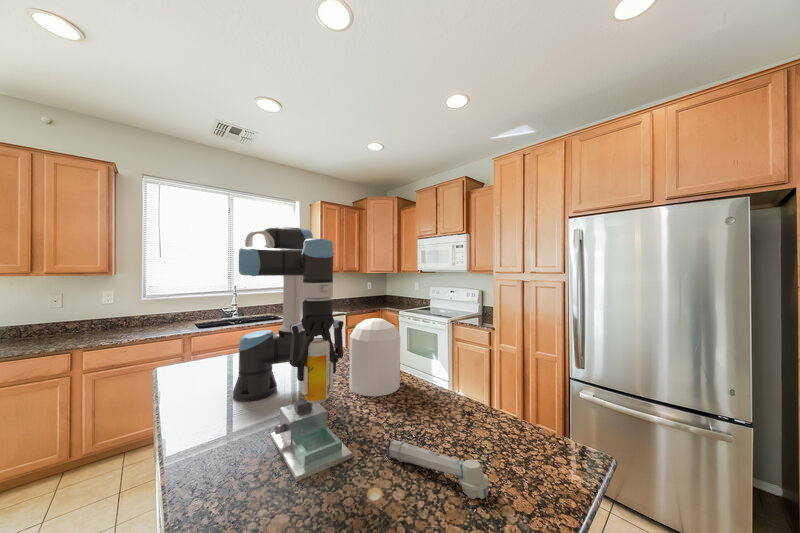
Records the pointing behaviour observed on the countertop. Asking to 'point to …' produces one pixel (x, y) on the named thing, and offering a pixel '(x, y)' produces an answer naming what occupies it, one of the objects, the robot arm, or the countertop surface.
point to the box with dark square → (307, 440)
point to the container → (374, 358)
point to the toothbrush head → (444, 466)
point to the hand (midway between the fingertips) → (317, 389)
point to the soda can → (318, 370)
